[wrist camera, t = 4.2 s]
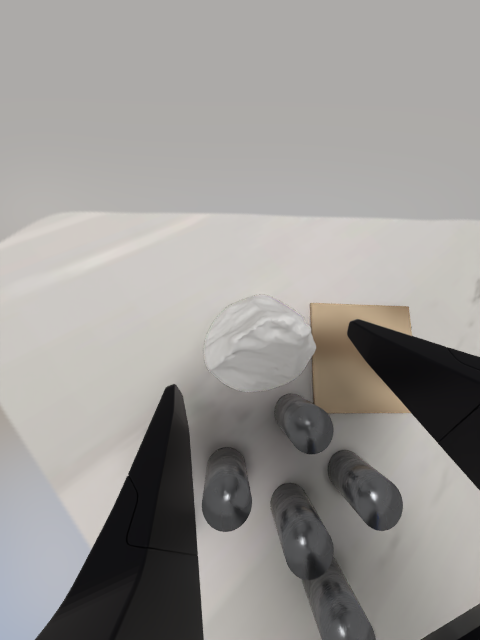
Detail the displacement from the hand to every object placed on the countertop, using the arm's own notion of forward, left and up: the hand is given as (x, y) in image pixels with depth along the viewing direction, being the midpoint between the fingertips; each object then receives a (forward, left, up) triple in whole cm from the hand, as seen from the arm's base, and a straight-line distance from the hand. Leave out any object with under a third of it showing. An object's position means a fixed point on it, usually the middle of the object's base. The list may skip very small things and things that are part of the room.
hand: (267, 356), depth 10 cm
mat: (-11, -3, -9) cm, 14 cm away
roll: (0, -1, -9) cm, 9 cm away
